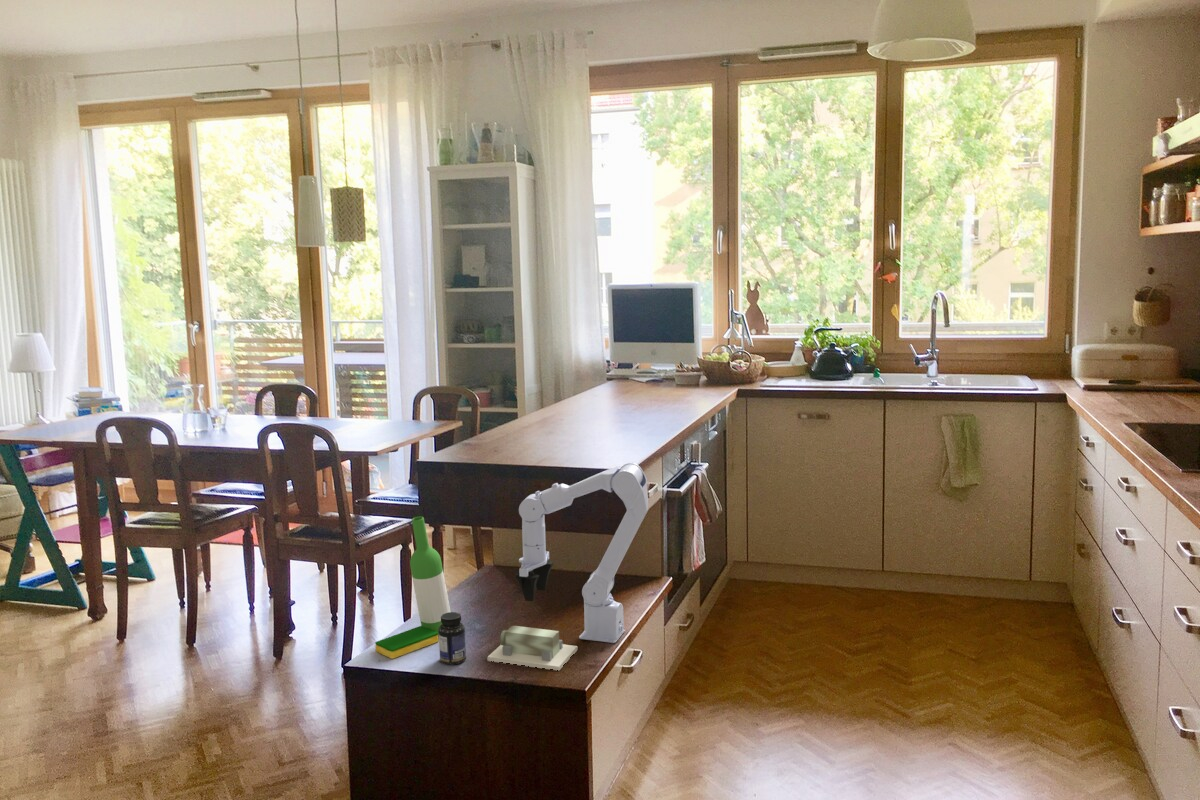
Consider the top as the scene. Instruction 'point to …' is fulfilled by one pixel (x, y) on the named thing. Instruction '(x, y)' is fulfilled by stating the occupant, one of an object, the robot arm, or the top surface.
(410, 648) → the dish sponge
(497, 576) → the top surface
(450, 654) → the pill bottle
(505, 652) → the cradle jig
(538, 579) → the robot arm
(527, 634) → the tall single-stud brick
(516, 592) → the top surface
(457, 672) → the top surface
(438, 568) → the wine bottle
